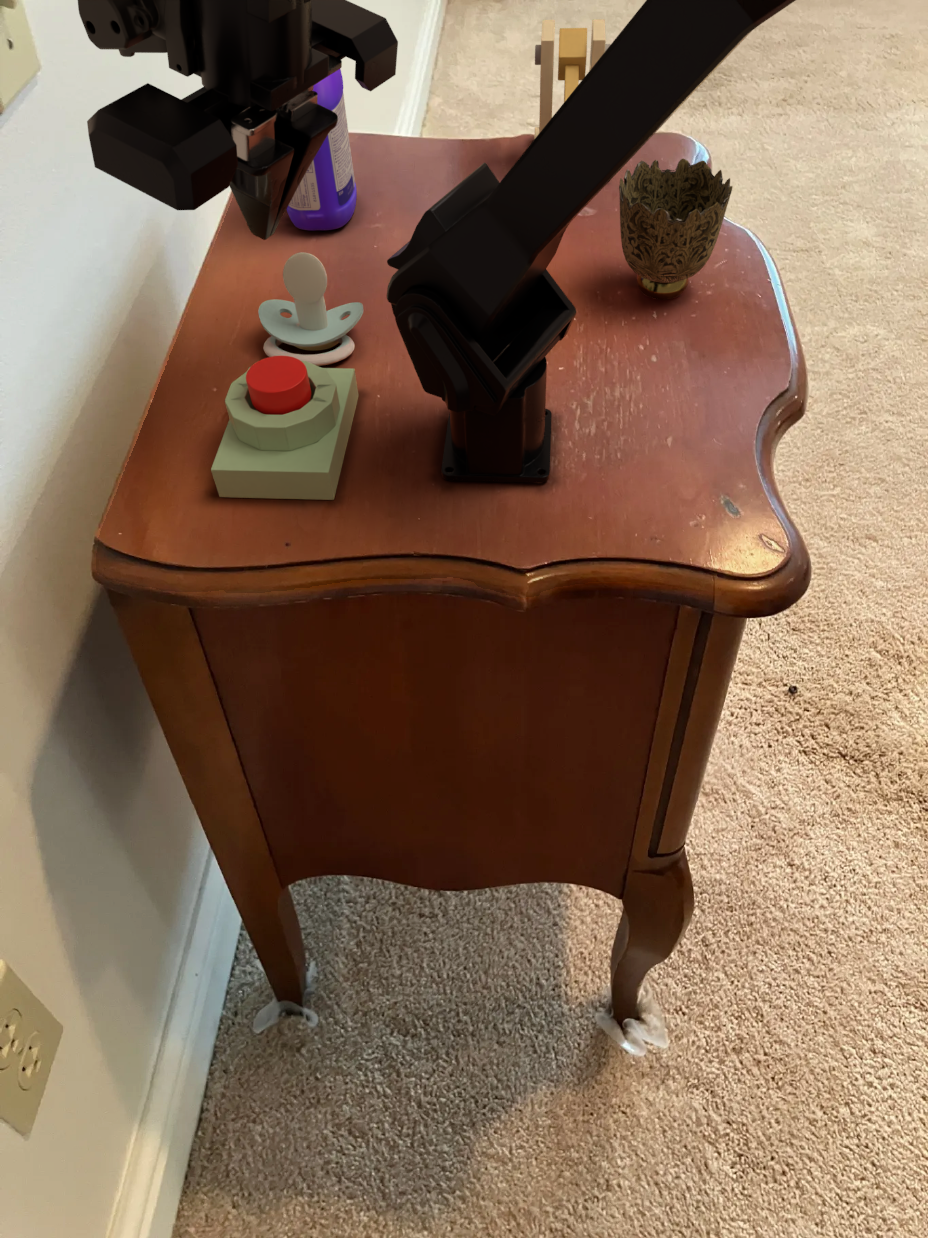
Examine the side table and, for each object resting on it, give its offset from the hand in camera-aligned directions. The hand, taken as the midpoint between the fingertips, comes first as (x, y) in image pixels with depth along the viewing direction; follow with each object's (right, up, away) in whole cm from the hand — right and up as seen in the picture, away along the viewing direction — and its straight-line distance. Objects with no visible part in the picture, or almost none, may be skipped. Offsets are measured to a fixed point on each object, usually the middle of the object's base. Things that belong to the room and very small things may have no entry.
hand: (262, 234), depth 56 cm
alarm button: (+1, -10, 0) cm, 10 cm away
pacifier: (+1, -4, +10) cm, 11 cm away
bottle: (0, +10, +22) cm, 24 cm away
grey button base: (+1, -12, +3) cm, 12 cm away
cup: (+27, +1, +13) cm, 29 cm away
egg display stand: (+21, +17, +26) cm, 38 cm away
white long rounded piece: (+21, +19, +20) cm, 35 cm away
